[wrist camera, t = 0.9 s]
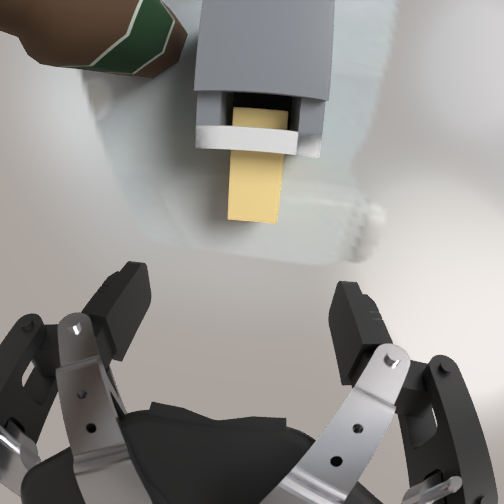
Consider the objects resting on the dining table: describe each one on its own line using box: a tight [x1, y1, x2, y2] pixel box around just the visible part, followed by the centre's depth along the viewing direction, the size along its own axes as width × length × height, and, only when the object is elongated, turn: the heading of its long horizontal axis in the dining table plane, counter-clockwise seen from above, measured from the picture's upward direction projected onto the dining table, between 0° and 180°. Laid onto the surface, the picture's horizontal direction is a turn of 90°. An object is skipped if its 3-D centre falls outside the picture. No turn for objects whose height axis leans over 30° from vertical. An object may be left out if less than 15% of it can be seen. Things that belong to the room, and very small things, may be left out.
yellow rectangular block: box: [228, 107, 288, 224], centre depth 22 cm, size 9×4×4 cm, turn 176°
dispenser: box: [194, 0, 334, 158], centre depth 17 cm, size 12×8×8 cm
